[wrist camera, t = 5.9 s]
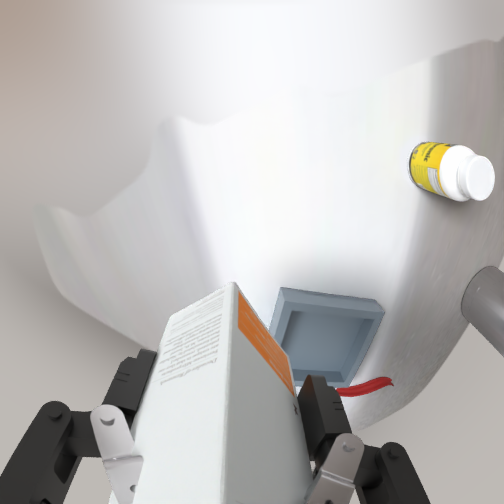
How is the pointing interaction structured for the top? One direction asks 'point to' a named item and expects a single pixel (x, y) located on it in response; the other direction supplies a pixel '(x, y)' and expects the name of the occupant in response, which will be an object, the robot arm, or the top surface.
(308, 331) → the tray
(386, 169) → the top surface
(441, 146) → the supplement bottle
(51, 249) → the top surface
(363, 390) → the cayenne pepper
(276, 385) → the skincare box
